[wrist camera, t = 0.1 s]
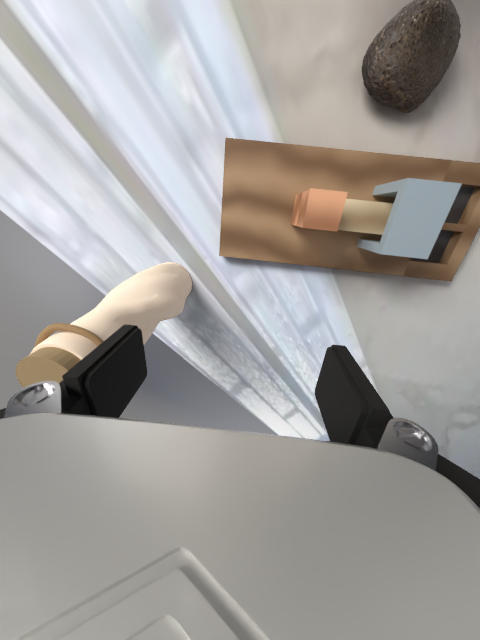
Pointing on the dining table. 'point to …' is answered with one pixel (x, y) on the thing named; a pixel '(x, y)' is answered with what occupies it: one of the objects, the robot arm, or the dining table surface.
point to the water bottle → (108, 321)
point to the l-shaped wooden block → (339, 212)
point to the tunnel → (413, 216)
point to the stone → (412, 54)
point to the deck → (359, 181)
